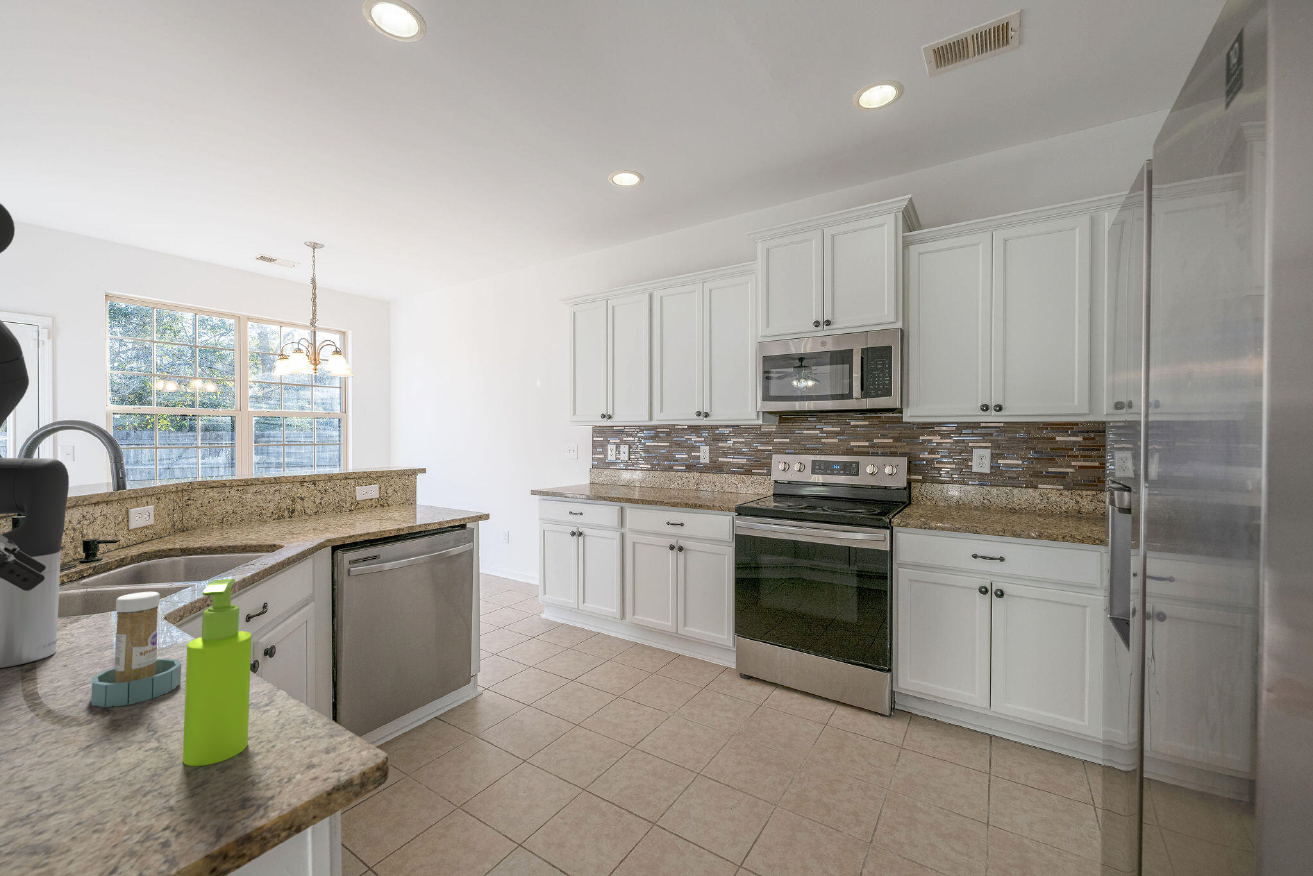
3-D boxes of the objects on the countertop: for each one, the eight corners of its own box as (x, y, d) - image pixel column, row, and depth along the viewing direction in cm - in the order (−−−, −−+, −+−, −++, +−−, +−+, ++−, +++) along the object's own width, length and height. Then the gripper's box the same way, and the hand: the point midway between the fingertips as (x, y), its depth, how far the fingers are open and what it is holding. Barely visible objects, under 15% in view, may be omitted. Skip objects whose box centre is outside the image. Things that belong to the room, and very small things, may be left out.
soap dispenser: (171, 776, 58) (179, 590, 58) (191, 745, 64) (198, 577, 65) (239, 763, 61) (245, 585, 61) (252, 734, 67) (257, 572, 67)
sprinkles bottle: (152, 690, 77) (156, 596, 77) (107, 698, 74) (112, 600, 75) (159, 679, 81) (162, 589, 81) (117, 686, 78) (121, 593, 78)
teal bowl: (73, 710, 72) (74, 688, 72) (117, 682, 81) (118, 662, 81) (158, 701, 75) (159, 680, 75) (192, 675, 83) (192, 655, 83)
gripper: (-78, 476, 60) (70, 564, 68) (-60, 471, 69) (68, 549, 77) (-167, 528, 56) (2, 615, 64) (-135, 515, 65) (9, 592, 73)
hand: (38, 578), depth 71 cm, fingers open, 8 cm apart
